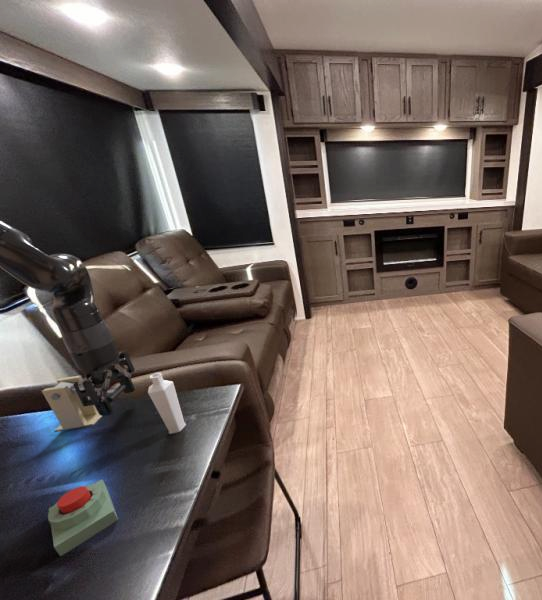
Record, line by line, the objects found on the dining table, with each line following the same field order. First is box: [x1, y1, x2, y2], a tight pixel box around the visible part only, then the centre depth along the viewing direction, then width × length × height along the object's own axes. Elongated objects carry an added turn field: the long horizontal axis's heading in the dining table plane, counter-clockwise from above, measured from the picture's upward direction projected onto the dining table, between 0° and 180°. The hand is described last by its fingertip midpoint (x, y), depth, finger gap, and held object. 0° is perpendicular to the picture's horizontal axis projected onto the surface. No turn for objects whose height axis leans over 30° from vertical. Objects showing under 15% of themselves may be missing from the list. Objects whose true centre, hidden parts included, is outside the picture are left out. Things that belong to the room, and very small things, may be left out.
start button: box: [56, 485, 91, 514], centre depth 52 cm, size 4×4×2 cm
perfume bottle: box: [147, 372, 187, 435], centre depth 69 cm, size 5×4×15 cm
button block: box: [47, 479, 119, 557], centre depth 53 cm, size 10×7×4 cm
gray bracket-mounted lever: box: [54, 382, 126, 403], centre depth 75 cm, size 12×5×2 cm, turn 100°
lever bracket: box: [41, 375, 103, 432], centre depth 75 cm, size 8×6×12 cm
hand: (119, 402), depth 77 cm, fingers open, 8 cm apart
